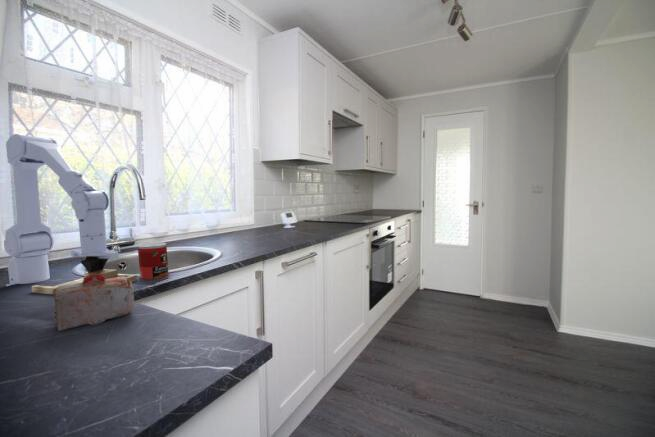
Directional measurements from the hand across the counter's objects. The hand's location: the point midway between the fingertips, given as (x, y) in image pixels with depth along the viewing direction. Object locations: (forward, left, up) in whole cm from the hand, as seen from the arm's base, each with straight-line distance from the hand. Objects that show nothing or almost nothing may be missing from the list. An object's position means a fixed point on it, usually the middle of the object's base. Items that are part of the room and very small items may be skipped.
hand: (96, 283), depth 88 cm
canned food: (+7, +13, -2) cm, 15 cm away
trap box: (-4, 0, -2) cm, 5 cm away
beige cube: (+3, 0, -1) cm, 3 cm away
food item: (+19, -15, -3) cm, 24 cm away
